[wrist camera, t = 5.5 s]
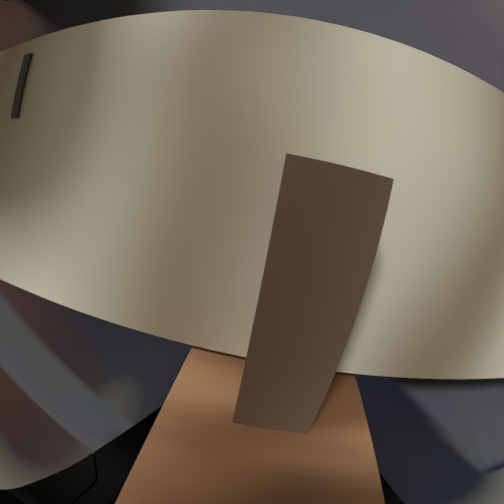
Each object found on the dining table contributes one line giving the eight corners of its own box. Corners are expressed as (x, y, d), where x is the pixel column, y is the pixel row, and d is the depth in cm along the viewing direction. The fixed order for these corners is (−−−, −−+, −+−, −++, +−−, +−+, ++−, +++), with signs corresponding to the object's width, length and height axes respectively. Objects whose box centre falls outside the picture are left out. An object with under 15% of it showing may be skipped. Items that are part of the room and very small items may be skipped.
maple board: (576, 177, 6) (612, 184, 4) (527, 347, 8) (553, 374, 6) (-17, 80, 7) (-51, 76, 5) (-28, 236, 9) (-61, 249, 7)
